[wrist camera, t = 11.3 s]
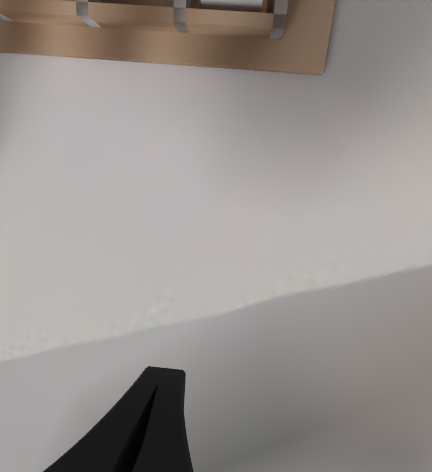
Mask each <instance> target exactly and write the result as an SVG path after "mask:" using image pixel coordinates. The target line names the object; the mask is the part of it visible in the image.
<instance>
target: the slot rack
mask: <svg viewBox="0 0 432 472" xmlns="http://www.w3.org/2000/svg"><path fill="white" fill-rule="evenodd" d="M334 6H335V0H263V2H262V8H261V12H247V11H229V10H211V9H203V8H202V4H201V0H0V52H4V53H18V54H33V55H47V56H61V57H75V58H90V59H104V60H118V61H132V62H146V63H161V64H175V65H189V66H203V67H218V68H232V69H246V70H260V71H275V72H289V73H303V74H317V75H321V74H323V73H324V69H325V63H326V56H327V50H328V44H329V38H330V31H331V25H332V19H333V13H334Z"/></svg>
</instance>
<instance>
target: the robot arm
mask: <svg viewBox="0 0 432 472" xmlns="http://www.w3.org/2000/svg"><path fill="white" fill-rule="evenodd" d="M185 376H186V374H185V372H184V371H183V370H178V369H168V368H159V367H150V366H148V367H147V368H146V369H145V370H144V371H143V373H142V374H141V375H140V377H139V378H138V379H137V380H136V381H135V382H134V384H133V385H132V386H131V387H130V388H129V390H128V391H127V392H126V393H125V394H124V395H123V396H122V398H121V399H120V400H119V401H118V402H117V403H116V404H115V405H114V406H113V407H112V409H111V410H110V411H109V412H108V413H107V414H106V415H105V416H104V417H103V418H102V419H101V420H100V421H99V422H98V423H97V424H96V425H95V426H94V427H93V428H92V429H91V430H90V431H89V432H88V433H87V434H86V435H85V436H84V437H83V438H82V439H80V440H79V441H78V442H77V443H76V444H75V445H74V446H73V447H72V448H71V449H69V450H68V451H67V452H66V453H65V454H64V455H63V456H61V457H60V458H59V459H58V460H57V461H56V462H54V463H53V464H52V465H51V466H49V467H48V468H47V469H46V470H45V471H43V472H193V468H192V463H191V458H190V453H189V447H188V441H187V435H186V428H185V419H184V395H185Z"/></svg>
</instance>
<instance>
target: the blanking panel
mask: <svg viewBox="0 0 432 472" xmlns="http://www.w3.org/2000/svg"><path fill="white" fill-rule="evenodd" d="M262 2H263V0H201V4H202V8H203V9H211V10H229V11H247V12H261V8H262Z"/></svg>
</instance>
